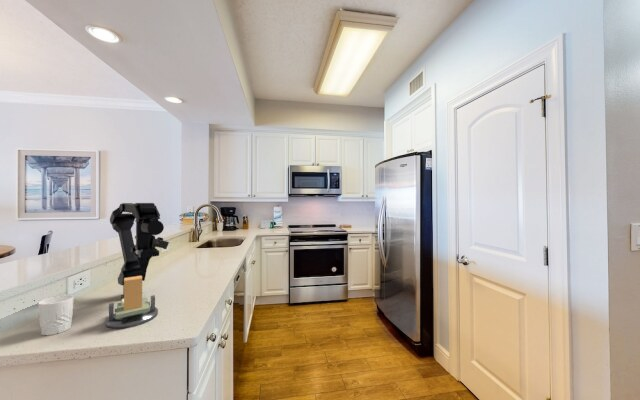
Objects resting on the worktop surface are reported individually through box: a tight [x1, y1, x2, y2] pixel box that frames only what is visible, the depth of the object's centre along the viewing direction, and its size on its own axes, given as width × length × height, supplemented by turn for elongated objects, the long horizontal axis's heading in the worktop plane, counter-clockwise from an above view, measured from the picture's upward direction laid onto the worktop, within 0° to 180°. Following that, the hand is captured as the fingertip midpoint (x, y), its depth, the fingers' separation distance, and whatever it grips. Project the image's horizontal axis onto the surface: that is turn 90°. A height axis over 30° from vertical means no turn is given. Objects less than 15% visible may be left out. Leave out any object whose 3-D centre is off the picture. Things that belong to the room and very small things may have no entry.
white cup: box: [38, 294, 75, 336], centre depth 80 cm, size 8×8×10 cm
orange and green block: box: [114, 276, 151, 319], centre depth 89 cm, size 14×10×11 cm
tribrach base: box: [104, 295, 159, 330], centre depth 89 cm, size 15×15×6 cm
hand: (144, 271), depth 102 cm, fingers closed
